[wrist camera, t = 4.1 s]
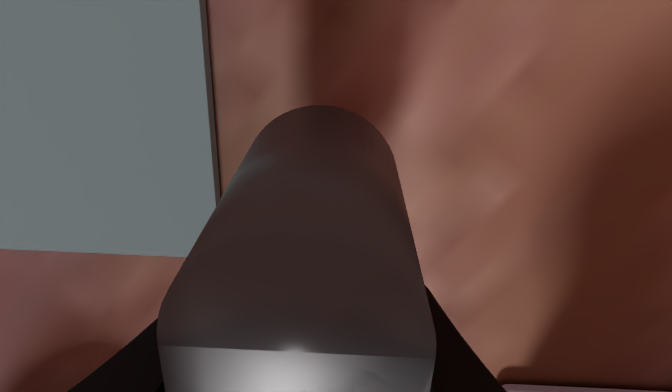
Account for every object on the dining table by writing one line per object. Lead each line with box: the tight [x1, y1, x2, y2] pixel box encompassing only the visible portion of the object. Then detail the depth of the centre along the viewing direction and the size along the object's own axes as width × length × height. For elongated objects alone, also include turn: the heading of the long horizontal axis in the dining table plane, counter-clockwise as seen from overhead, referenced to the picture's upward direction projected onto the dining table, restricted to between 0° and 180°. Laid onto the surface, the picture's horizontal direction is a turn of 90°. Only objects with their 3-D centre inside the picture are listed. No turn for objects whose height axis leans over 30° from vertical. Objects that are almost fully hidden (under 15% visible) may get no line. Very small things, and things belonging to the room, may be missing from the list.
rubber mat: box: [0, 0, 220, 257], centre depth 13 cm, size 11×13×1 cm
